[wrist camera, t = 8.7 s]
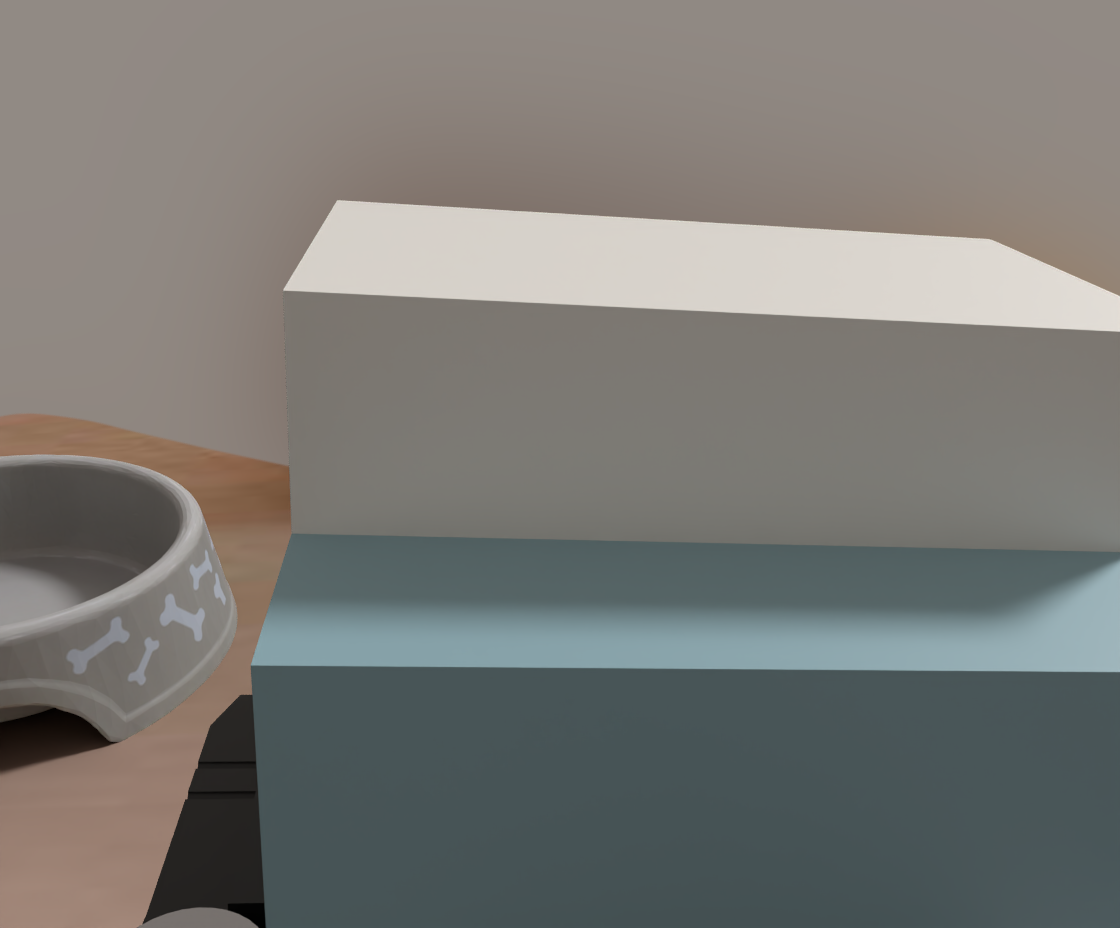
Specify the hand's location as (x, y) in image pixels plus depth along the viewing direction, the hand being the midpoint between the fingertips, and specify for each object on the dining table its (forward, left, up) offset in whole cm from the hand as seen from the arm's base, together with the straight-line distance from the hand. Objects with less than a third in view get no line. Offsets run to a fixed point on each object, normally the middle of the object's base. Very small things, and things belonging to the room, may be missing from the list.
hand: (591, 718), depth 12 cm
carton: (+1, +2, -7) cm, 7 cm away
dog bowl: (+6, -33, -18) cm, 39 cm away
